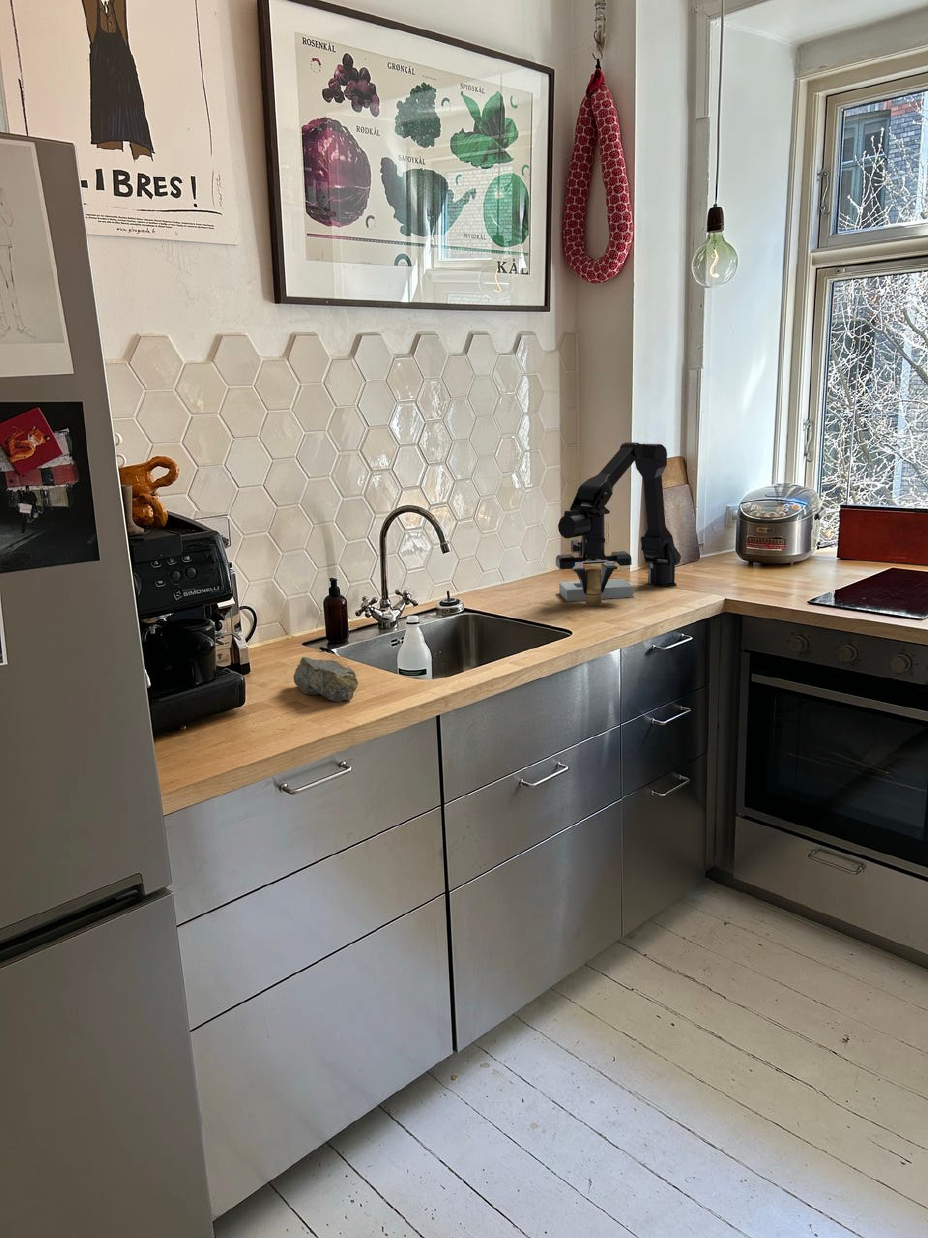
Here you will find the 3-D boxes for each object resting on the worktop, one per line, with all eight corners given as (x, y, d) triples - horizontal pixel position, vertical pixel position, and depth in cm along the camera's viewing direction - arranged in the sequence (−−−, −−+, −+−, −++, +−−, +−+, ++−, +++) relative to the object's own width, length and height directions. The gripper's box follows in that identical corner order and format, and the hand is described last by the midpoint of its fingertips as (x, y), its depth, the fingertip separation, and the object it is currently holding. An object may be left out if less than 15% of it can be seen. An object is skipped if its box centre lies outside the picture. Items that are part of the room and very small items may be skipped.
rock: (376, 671, 168) (336, 671, 160) (371, 706, 168) (331, 707, 160) (319, 653, 179) (279, 652, 171) (314, 686, 179) (274, 687, 172)
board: (623, 589, 246) (623, 578, 246) (633, 597, 237) (633, 586, 236) (559, 593, 245) (559, 582, 244) (566, 601, 235) (566, 590, 235)
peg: (599, 601, 233) (599, 568, 231) (603, 605, 229) (603, 571, 227) (583, 602, 233) (583, 569, 231) (587, 606, 229) (587, 572, 227)
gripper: (620, 526, 235) (620, 584, 239) (551, 530, 233) (552, 588, 237) (632, 532, 224) (632, 593, 228) (559, 537, 223) (560, 597, 227)
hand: (593, 592), depth 230 cm, fingers closed on peg, 4 cm apart
